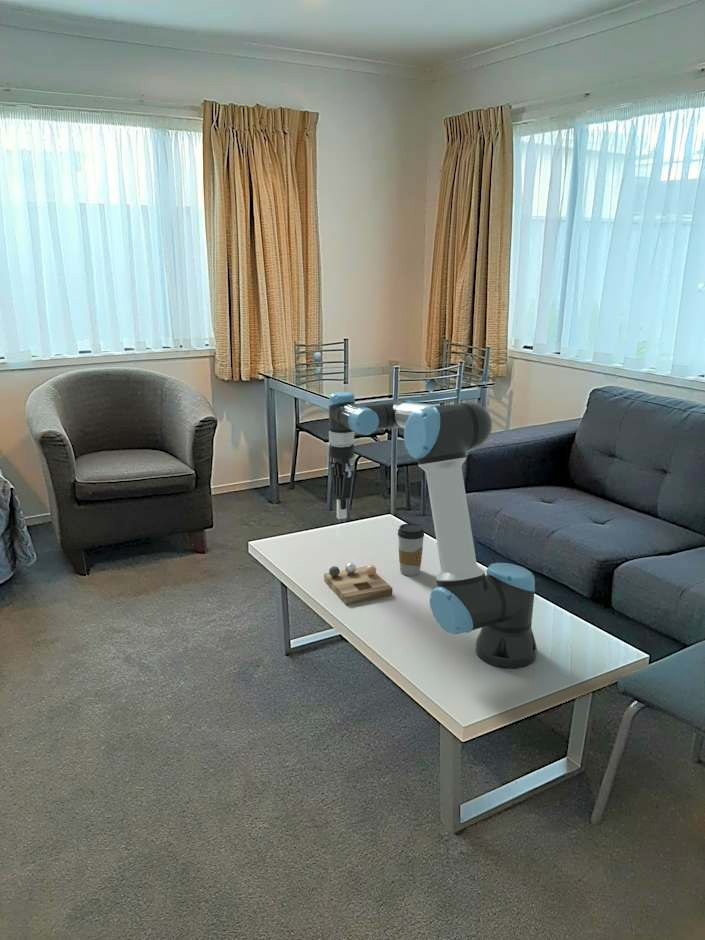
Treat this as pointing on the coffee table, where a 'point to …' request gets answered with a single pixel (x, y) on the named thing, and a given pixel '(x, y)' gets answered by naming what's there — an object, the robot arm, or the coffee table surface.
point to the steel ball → (350, 568)
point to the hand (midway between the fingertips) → (341, 517)
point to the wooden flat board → (358, 586)
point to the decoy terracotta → (370, 570)
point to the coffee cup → (410, 548)
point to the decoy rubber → (334, 571)
